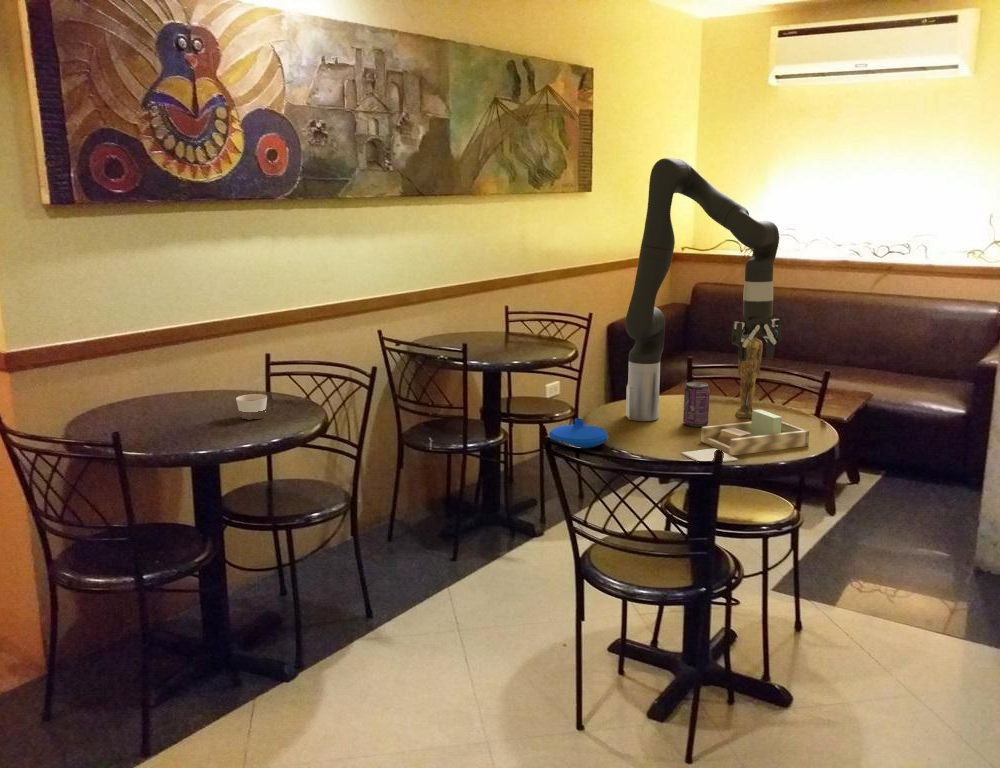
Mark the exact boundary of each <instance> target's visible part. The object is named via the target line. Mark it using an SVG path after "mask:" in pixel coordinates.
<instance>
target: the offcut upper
mask: <svg viewBox="0 0 1000 768" xmlns="http://www.w3.org/2000/svg"><path fill="white" fill-rule="evenodd" d="M743 437H752V433H749V432H746V431H742V430H739V429H736V428H728V429H723V430H721V433H720V438H722V439H726V440H729V441H730V439H735V438H743Z"/></svg>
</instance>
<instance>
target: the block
mask: <svg viewBox="0 0 1000 768" xmlns="http://www.w3.org/2000/svg"><path fill="white" fill-rule="evenodd" d="M751 421H752V424H751V433H752V436H760V435H769V434H777V433H781V423H782V421H783V417H782V416H780V415H778V414H774V413H772V412H769V411H766V410H763V409H752V417H751Z"/></svg>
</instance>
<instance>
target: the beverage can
mask: <svg viewBox="0 0 1000 768" xmlns="http://www.w3.org/2000/svg"><path fill="white" fill-rule="evenodd" d="M685 385H686V387H685V389H684V391H683V392H684V393H683V394H684V396H683V416H682V417H683V421H682V422H683V424H685V425H687V426H690V427H695V428H698V427H699V428H700V427H701V428H702V427H705V426H707V425H708V424H709V417H710V416H709V414H710V398H711V397H710V395H711V394H710V393H711V392H710V388H709V384H708V383H706V382H701V381H689V382H687V383H685Z"/></svg>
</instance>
